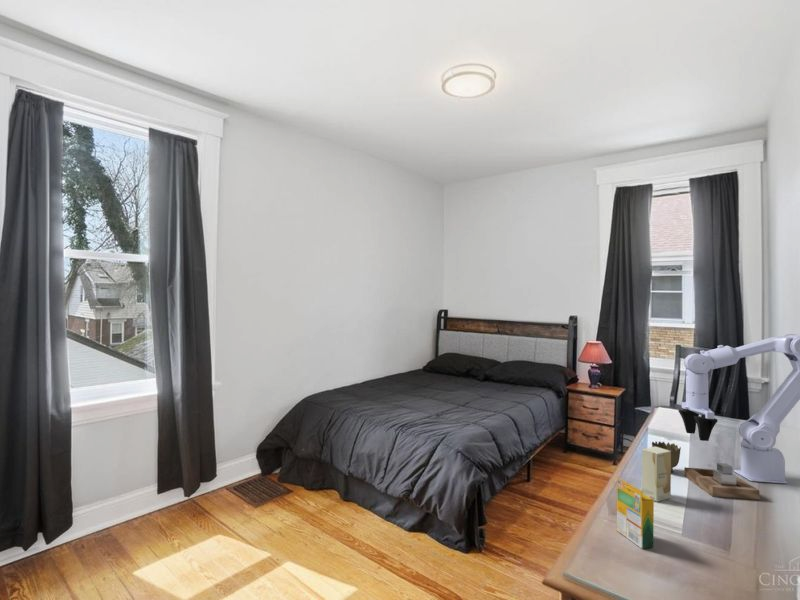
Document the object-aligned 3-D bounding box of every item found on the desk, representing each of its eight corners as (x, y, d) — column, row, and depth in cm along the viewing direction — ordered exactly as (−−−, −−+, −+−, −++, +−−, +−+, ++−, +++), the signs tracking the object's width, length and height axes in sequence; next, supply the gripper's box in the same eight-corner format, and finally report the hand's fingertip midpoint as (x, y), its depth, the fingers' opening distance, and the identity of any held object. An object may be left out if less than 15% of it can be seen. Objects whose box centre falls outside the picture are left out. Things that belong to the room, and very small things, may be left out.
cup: (685, 477, 122) (685, 449, 123) (657, 474, 124) (657, 447, 124) (674, 467, 130) (674, 442, 130) (648, 465, 131) (648, 440, 131)
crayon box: (654, 548, 85) (654, 490, 85) (641, 549, 84) (642, 491, 84) (627, 529, 92) (627, 476, 92) (616, 530, 91) (616, 477, 92)
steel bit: (727, 488, 114) (727, 462, 114) (736, 494, 110) (736, 467, 111) (713, 487, 115) (713, 462, 115) (721, 493, 111) (721, 466, 111)
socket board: (725, 478, 122) (725, 470, 122) (759, 500, 108) (759, 490, 108) (684, 475, 123) (684, 467, 123) (712, 496, 109) (712, 486, 109)
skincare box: (657, 502, 105) (657, 453, 106) (640, 495, 109) (640, 448, 109) (672, 497, 108) (671, 450, 109) (655, 491, 112) (655, 445, 112)
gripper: (671, 387, 137) (671, 429, 137) (695, 396, 123) (695, 443, 123) (694, 388, 136) (695, 430, 136) (722, 397, 122) (722, 444, 122)
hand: (697, 436), depth 129 cm, fingers open, 7 cm apart
